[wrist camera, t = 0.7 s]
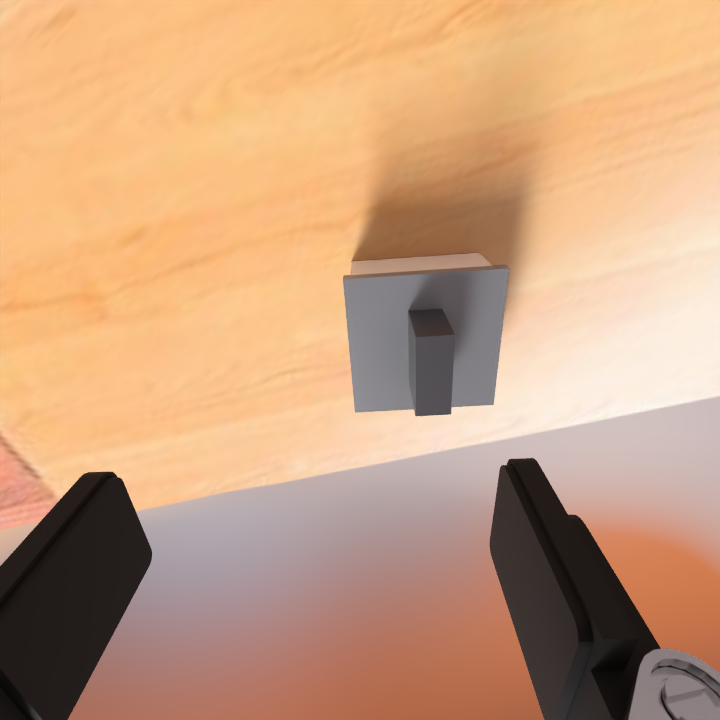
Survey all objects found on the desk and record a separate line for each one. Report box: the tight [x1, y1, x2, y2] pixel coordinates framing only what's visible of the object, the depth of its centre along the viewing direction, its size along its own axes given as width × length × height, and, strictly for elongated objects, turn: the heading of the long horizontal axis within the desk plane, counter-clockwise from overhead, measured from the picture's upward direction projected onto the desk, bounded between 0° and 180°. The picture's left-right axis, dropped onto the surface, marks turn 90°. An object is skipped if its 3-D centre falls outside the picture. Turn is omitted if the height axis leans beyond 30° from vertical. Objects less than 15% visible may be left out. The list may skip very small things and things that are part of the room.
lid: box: [343, 265, 509, 416], centre depth 33 cm, size 13×13×6 cm
